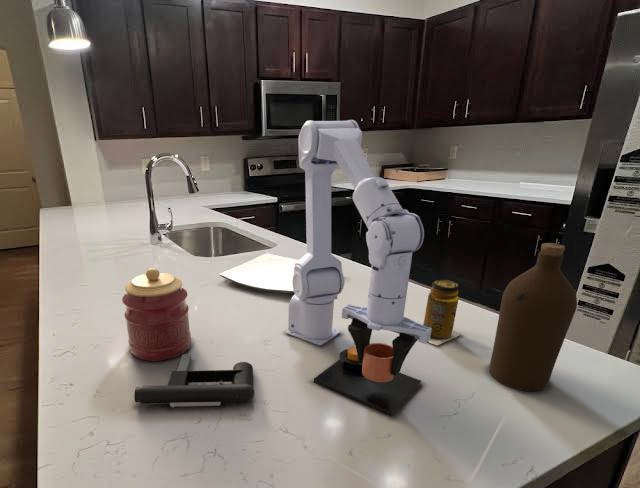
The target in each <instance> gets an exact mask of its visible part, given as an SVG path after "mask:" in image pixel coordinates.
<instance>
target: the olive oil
mask: <svg viewBox="0 0 640 488" xmlns="http://www.w3.org/2000/svg"><path fill="white" fill-rule="evenodd" d="M565 249H566V246H565V245H563V244H559V243H556V242H555V243H553V242H544V243H542V244H541V246H540V251H538V254H537V257H536V258H537V259H536V263H535V265H534V266H533V267H531V268H530V269H528V270H526V271H525V272H523V273H520V274H519V275H518V276H516V277H515V278H513V279H512V280H511V281H510V282H509V283H508V284H507V286H506V287H505V289H504V291H503V292H502V297H501V302H500V309H499V313H498V320H497V326H496V330H495V337H494V341H493V347H492V352H491V357H490V362H489V365H488V367H489V368H488V372H489V375H490V376H491V377H492V378H493V379H494V380H495V381H496V382H498V383H500V384H502V385H503V386H505V387H509V388H511V389H515V390H518V391H524V392H538V391H542V390H545V389H546V388H547V387H548V385H549V382H550V379H551V377H552V374H553V372H554V369H555V365H556V362H557V360H558V357H559V355H560V352H561V349H562V347H563V344H564V341H565V339H566V336H567V334H568V331H569V328H570V326H571V323H572V322H573V318H574V316H575V314H576V311H577V307H578V297H577V292H576V290H575V289H574V286H573V285H572V284H571V283H570V281H569V280H568V279H567V277H566V276H565V274H564V273H563V272H562V270H561V266H562V263H563V260H564V257H565V256H564V252H565Z"/></svg>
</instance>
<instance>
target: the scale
mask: <svg viewBox="0 0 640 488" xmlns="http://www.w3.org/2000/svg"><path fill="white" fill-rule="evenodd" d="M348 349H349V348H346V349H343V350H342V351H340V352H339V357H338V358H339V359H338V360H337V361H335V362H334V363H333V364H332V365H330V366H329V367H328V368H326V369H324V370H323V371H322V372H321V373H319V374H318V375H316V377H313V383H315V384H317V385H318V386H321V387H323V388H325V389H327V390H330V391H332V392H334V393H337V394H340V395H341V396H344V397H345V398H348V399H349V400H352V401H354V402H357V403H359V404H361V405H363V406H366V407H368V408H369V409H373V410H375V411H377V412H379V413H382V414H384V415H386V416H389V417H393V416H394V415H395V414H396V412H397V411H398V410H399V409H400V408H401V407H402V405H403V404H404V403H405V402H406V401H407V400H408V399H409V398H410V397H411V396H412V395H413V394H414V393H415V392H416V391H417V389H418V388H419V387H421V383H422V380H421V379H418V378H415V377H412V376H411V375H408V374H405V373H401V372H399V373H398V374H397V375H396V376H394V378H393V379H392V380H391V381H388V382H375V381H372V380H369V379H367V378H366V377H365V376H364V375H363V374H362V364H363V363H360V362H359V361H352V360H350V359H348V358H347V355H348Z"/></svg>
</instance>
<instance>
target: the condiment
mask: <svg viewBox="0 0 640 488" xmlns="http://www.w3.org/2000/svg"><path fill="white" fill-rule="evenodd" d="M459 286H460V285H459V284H458V283H456V282H455V281H452V280H448V279H438V280H434V281H433V282H432V283H431V288H430V292H429V293H428V295H427V300H426V305H425V306H426V307H425V313H424V319H423V324H422V325H423V326H426V327H429V328H432V330H431V336H430V340H429V341H428V342H427V343H430V344H432V345H434V346H440V345H441V344H443V343H446V342H448V341H451V340H453V339H456V338H458V337H459V336H460V335H461V334H460V333H458V332H454V331H453V330H454V325H455V319H456V313H457V309H458V304H459V296H458V295H459V289H460V287H459Z"/></svg>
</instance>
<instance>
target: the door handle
mask: <svg viewBox="0 0 640 488" xmlns="http://www.w3.org/2000/svg"><path fill="white" fill-rule="evenodd" d="M191 365H192V354H190V353H189V354H181V358H180V360H179V364H178V367H177V370H172V371H171V374H170V377H169V379H168V383H167V385H166V384H165V385H164V384H163V385H142V386H136V387H135V388H134V395H133V396H134V402H135V403H139V404H143V405H153V404H154V405H157V404H158V405H159V404H169V406H170V407H171V408H175V407H216V406H217V407H218V406H219V407H220V406H221V403H237V405H238V403H248V402H250V401H252V400H253V398H254V397H255V389H254V366H253V365H252V364H251V363H249V362H247V361H239V362H236V363H235V364H234V365H233V368H232V369H215V370H214V369H213V370H212V369H211V370H210V369H209V370H207V369H206V370H205V369H204V370H190V368H191ZM195 383H196V384H195ZM199 383H202V384H199ZM203 383H204V384H203ZM205 383H218V384H205Z"/></svg>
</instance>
